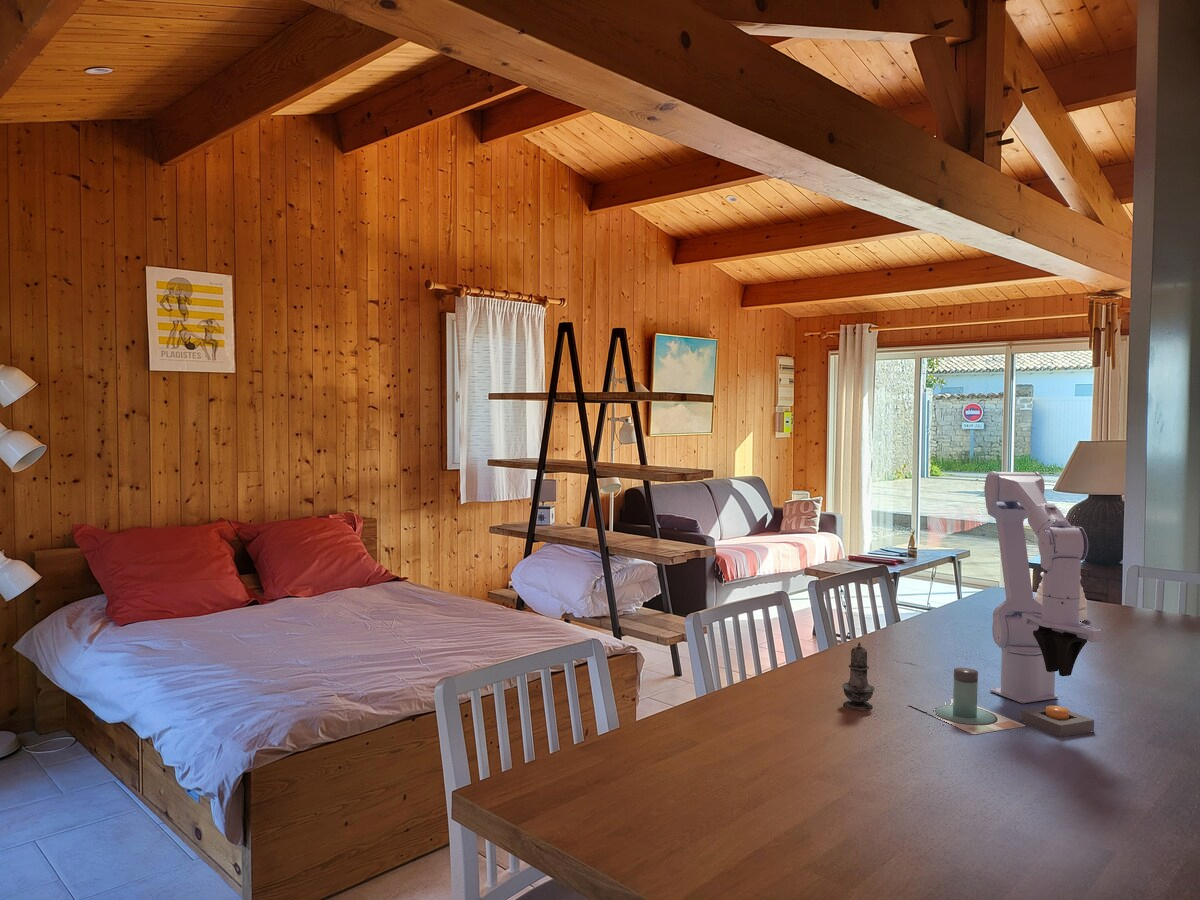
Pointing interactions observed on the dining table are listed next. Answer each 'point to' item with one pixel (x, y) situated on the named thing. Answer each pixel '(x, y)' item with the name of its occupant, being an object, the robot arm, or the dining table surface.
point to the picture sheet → (976, 720)
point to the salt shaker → (858, 681)
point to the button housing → (1057, 722)
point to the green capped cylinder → (965, 692)
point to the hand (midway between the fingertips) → (1058, 673)
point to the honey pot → (1082, 605)
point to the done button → (1057, 712)
